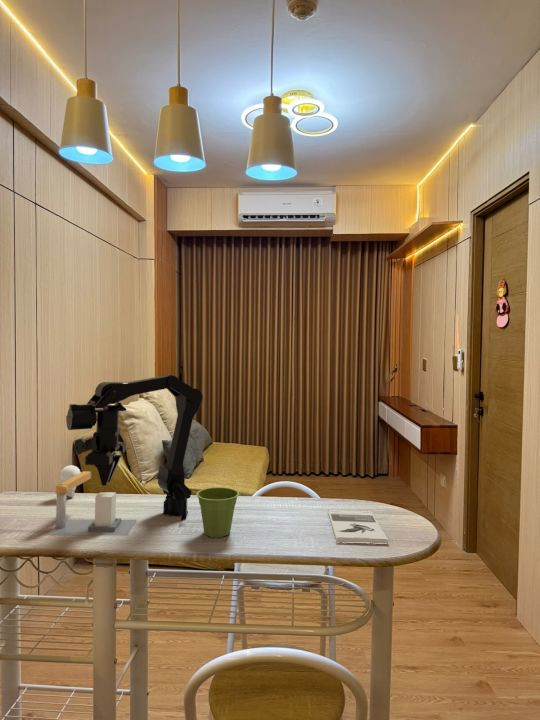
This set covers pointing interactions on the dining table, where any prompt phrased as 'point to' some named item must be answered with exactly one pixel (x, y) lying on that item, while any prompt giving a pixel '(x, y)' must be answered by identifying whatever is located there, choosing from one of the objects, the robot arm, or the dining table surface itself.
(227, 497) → the plant pot
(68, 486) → the bar
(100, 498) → the plug
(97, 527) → the socket board
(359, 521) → the book
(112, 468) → the robot arm
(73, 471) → the light bulb
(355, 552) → the dining table surface
